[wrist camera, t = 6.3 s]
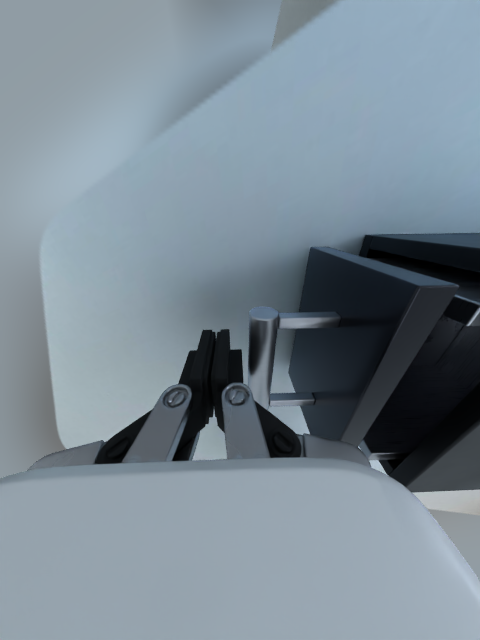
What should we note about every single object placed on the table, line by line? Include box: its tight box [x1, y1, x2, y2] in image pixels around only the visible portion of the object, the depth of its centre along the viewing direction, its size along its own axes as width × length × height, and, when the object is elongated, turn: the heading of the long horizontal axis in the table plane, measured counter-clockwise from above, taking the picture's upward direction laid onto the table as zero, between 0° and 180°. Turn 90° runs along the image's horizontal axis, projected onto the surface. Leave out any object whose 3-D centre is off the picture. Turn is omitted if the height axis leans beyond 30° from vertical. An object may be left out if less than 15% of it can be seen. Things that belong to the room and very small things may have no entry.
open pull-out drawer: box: [248, 247, 480, 460], centre depth 11 cm, size 18×11×8 cm, turn 91°
